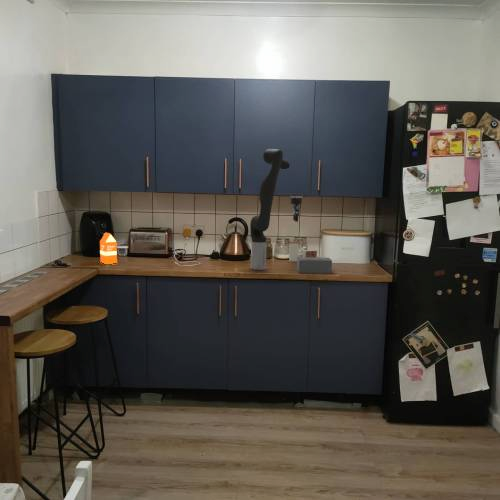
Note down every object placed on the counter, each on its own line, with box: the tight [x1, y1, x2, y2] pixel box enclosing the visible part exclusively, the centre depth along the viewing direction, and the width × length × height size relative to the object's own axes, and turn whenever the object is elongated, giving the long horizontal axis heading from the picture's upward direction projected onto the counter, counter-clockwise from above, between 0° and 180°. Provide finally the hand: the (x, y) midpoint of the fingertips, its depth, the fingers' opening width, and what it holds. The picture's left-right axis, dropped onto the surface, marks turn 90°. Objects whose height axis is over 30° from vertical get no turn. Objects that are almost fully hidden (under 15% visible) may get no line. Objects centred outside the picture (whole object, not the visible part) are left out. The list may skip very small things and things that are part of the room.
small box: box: [302, 249, 318, 258], centre depth 302 cm, size 8×6×10 cm
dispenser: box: [296, 256, 333, 274], centre depth 283 cm, size 20×10×9 cm, turn 91°
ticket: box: [289, 241, 300, 263], centre depth 317 cm, size 6×1×14 cm, turn 94°
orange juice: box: [99, 232, 118, 265], centre depth 297 cm, size 8×9×20 cm
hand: (295, 220), depth 314 cm, fingers open, 8 cm apart
